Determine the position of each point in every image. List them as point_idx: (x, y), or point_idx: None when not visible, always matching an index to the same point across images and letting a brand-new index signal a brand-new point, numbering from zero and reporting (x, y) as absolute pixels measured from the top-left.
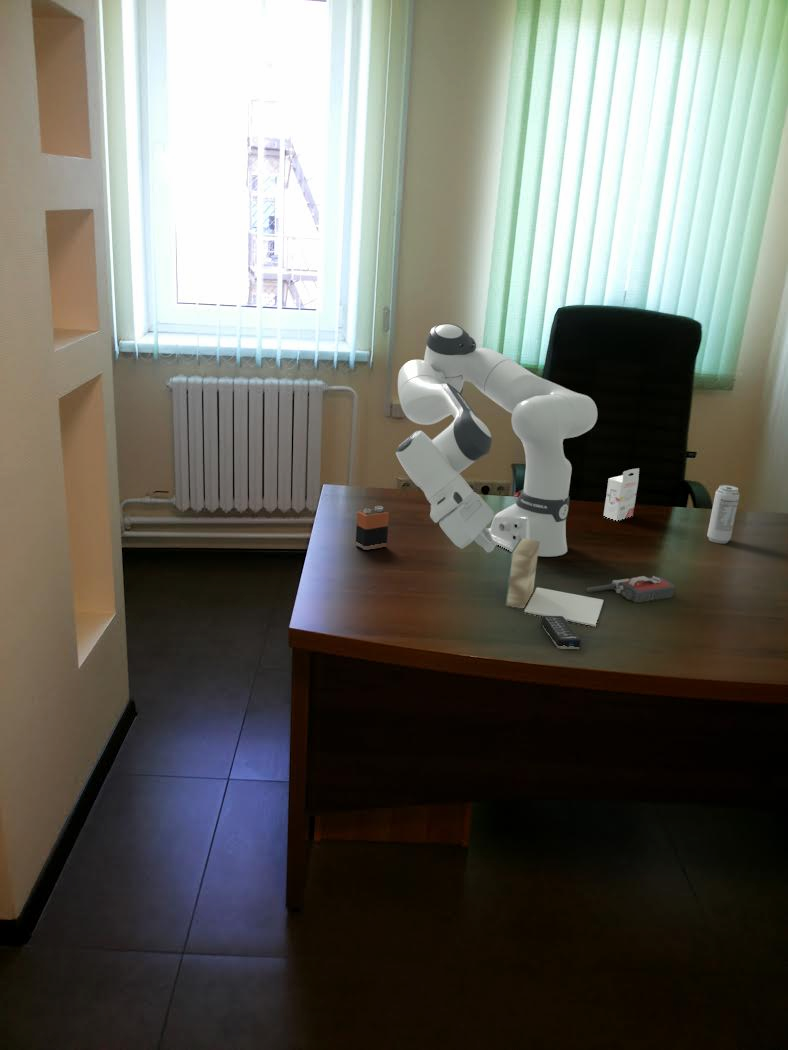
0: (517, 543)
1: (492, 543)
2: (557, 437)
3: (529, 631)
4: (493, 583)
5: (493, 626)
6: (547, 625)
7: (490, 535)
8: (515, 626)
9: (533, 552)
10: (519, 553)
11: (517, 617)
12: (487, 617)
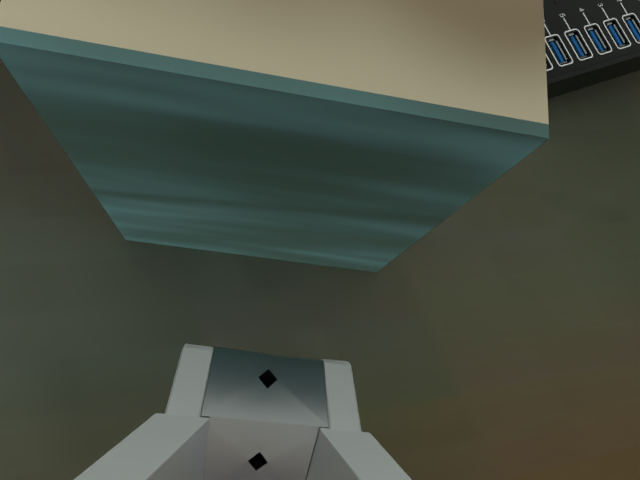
0: (230, 82)
1: (282, 388)
2: None
3: (589, 153)
4: (70, 373)
5: (622, 300)
6: (590, 73)
7: (148, 454)
8: (574, 209)
9: None
10: (543, 62)
11: (483, 206)
12: (549, 339)
